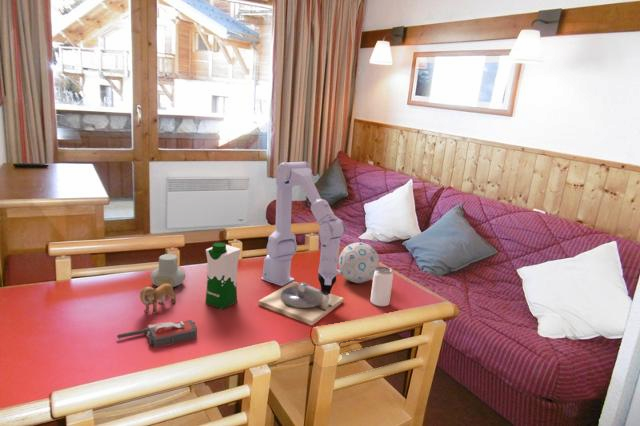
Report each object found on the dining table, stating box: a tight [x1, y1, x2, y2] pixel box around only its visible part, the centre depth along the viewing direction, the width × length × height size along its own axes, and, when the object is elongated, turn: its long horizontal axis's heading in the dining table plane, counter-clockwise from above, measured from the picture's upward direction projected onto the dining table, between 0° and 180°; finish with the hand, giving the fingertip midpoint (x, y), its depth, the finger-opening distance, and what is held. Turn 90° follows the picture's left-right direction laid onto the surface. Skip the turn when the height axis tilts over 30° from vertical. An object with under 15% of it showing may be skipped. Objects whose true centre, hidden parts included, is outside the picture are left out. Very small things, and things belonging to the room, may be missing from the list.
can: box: [370, 266, 394, 308], centre depth 150 cm, size 6×6×12 cm
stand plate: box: [257, 280, 344, 326], centre depth 146 cm, size 20×20×2 cm
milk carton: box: [205, 241, 242, 310], centre depth 139 cm, size 9×9×20 cm
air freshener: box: [150, 253, 186, 288], centre depth 149 cm, size 11×8×10 cm
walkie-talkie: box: [117, 319, 198, 348], centre depth 119 cm, size 9×4×20 cm
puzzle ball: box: [338, 241, 380, 284], centre depth 166 cm, size 15×15×15 cm
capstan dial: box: [281, 281, 331, 309], centre depth 144 cm, size 17×14×5 cm
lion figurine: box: [139, 284, 177, 315], centre depth 134 cm, size 15×5×9 cm, turn 164°
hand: (325, 296), depth 144 cm, fingers closed
